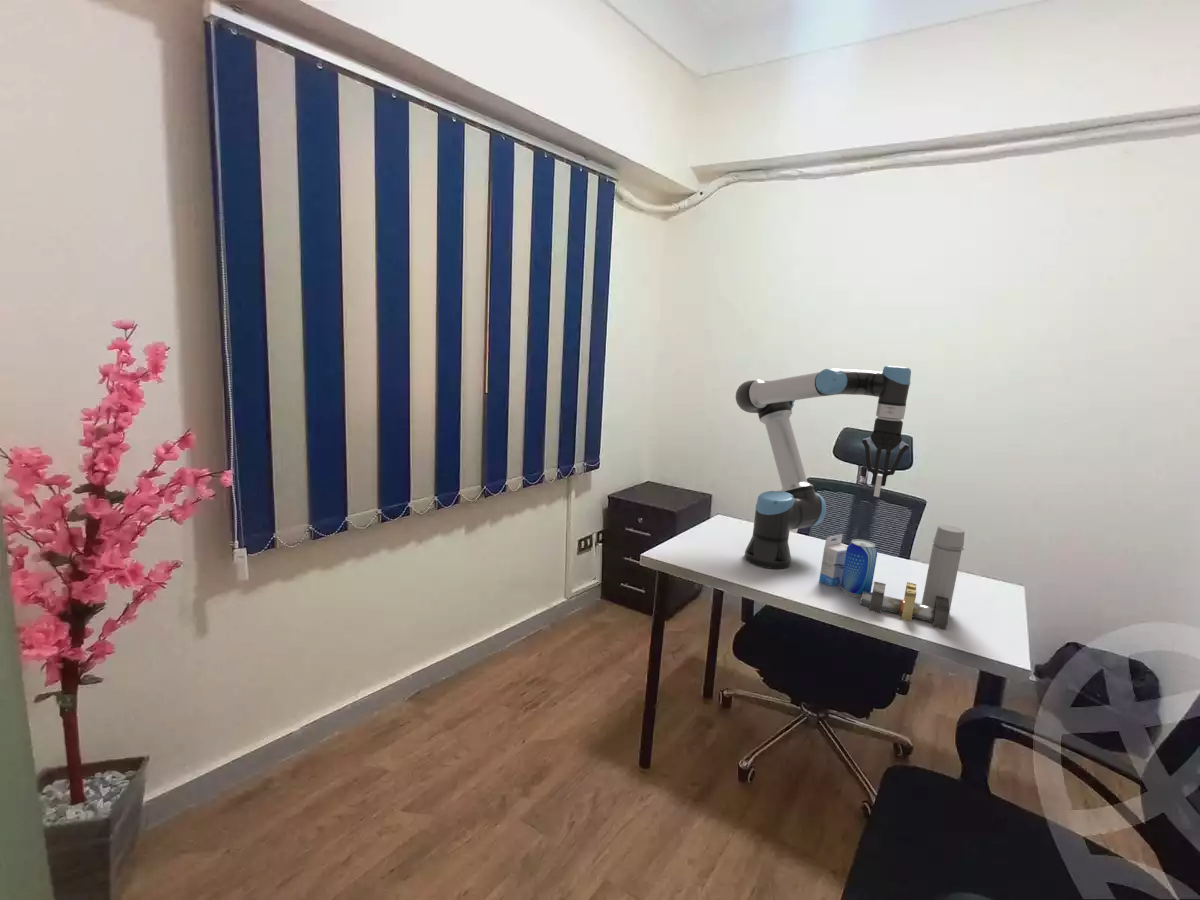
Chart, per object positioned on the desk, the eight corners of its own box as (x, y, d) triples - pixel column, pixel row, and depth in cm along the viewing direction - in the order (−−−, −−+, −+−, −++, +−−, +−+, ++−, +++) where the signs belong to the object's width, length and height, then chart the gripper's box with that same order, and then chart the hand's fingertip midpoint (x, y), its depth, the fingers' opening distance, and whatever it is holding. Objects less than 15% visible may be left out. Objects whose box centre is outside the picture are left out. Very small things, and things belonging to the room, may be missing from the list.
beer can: (834, 588, 183) (842, 539, 180) (854, 585, 187) (862, 537, 184) (855, 600, 176) (864, 549, 173) (876, 597, 179) (884, 546, 176)
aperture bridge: (901, 618, 166) (906, 591, 164) (902, 607, 173) (907, 582, 171) (911, 621, 165) (916, 594, 163) (911, 610, 172) (916, 584, 170)
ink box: (832, 587, 184) (839, 542, 181) (818, 581, 188) (825, 536, 186) (848, 582, 189) (855, 538, 186) (835, 576, 193) (841, 533, 190)
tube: (859, 606, 173) (861, 595, 171) (861, 598, 176) (863, 587, 174) (946, 628, 163) (949, 617, 161) (946, 619, 166) (949, 608, 164)
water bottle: (938, 618, 167) (954, 534, 163) (914, 606, 174) (929, 525, 170) (960, 614, 171) (977, 531, 166) (935, 603, 178) (951, 523, 173)
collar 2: (932, 626, 162) (936, 606, 161) (932, 615, 169) (936, 595, 168) (945, 629, 161) (949, 609, 160) (944, 618, 168) (948, 598, 167)
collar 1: (869, 610, 169) (872, 590, 168) (871, 600, 177) (874, 581, 175) (880, 613, 168) (884, 593, 167) (882, 603, 175) (885, 583, 174)
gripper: (864, 417, 176) (852, 494, 181) (913, 423, 170) (899, 502, 175) (866, 415, 183) (854, 489, 187) (914, 420, 177) (900, 497, 182)
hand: (876, 495), depth 181 cm, fingers closed
